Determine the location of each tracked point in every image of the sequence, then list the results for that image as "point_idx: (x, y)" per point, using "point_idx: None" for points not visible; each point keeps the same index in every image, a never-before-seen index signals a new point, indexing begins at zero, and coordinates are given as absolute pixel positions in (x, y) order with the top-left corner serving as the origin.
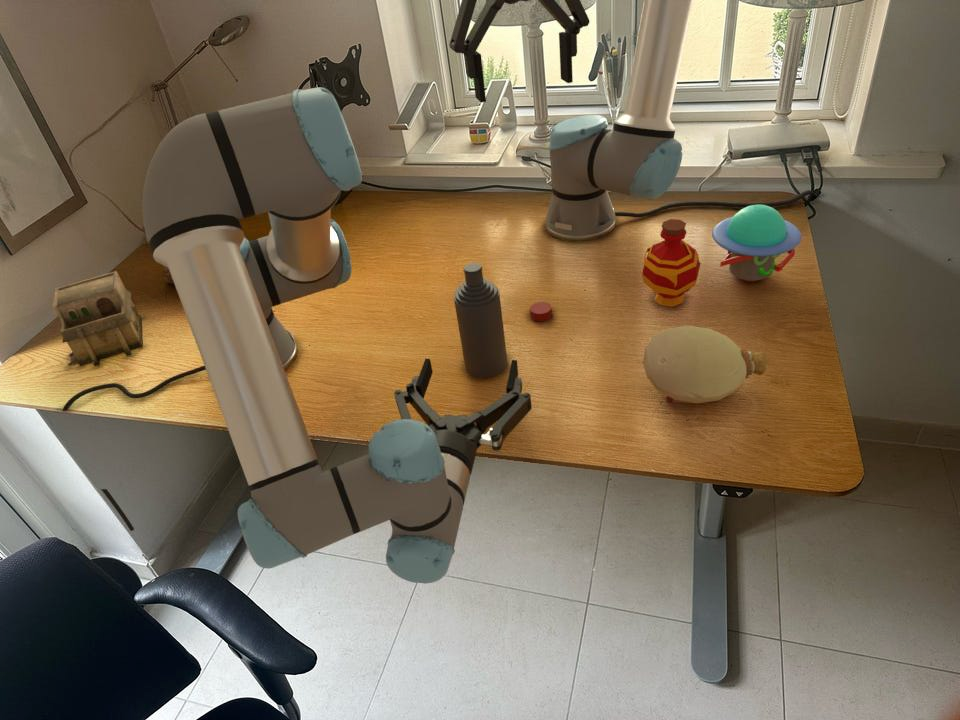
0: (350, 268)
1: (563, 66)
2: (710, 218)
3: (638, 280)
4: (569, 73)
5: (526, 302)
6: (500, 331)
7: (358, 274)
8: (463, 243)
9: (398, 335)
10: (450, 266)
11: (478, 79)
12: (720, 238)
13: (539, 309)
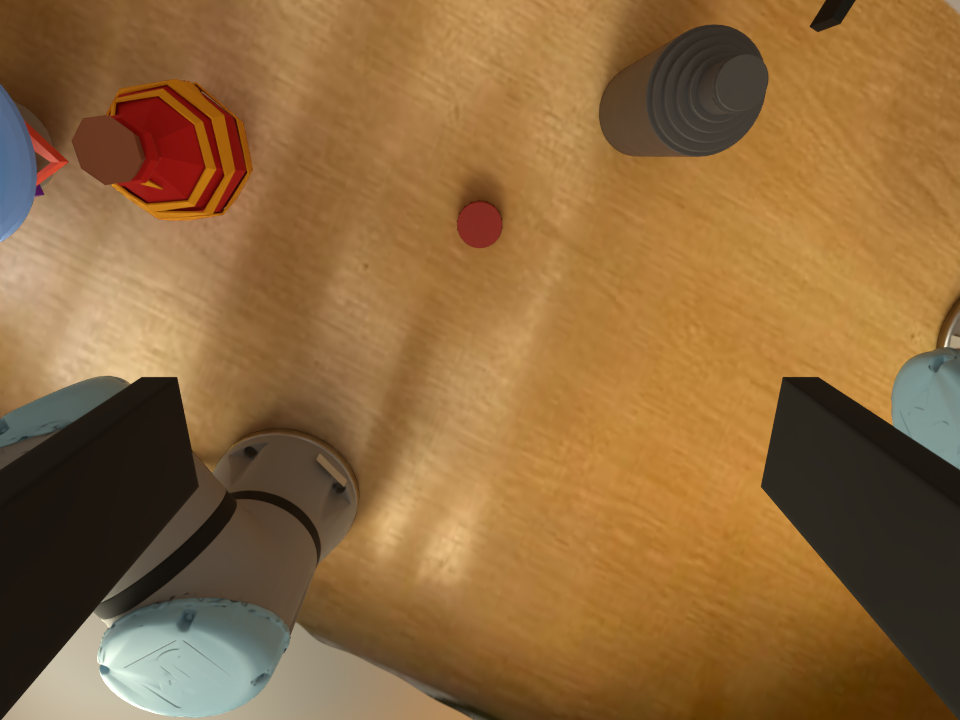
0: (930, 355)
1: (135, 491)
2: (24, 395)
3: (250, 248)
4: (125, 405)
5: (489, 280)
6: (641, 60)
7: (743, 520)
8: (525, 532)
9: (754, 289)
10: (577, 468)
11: (932, 458)
12: (18, 162)
13: (484, 220)
